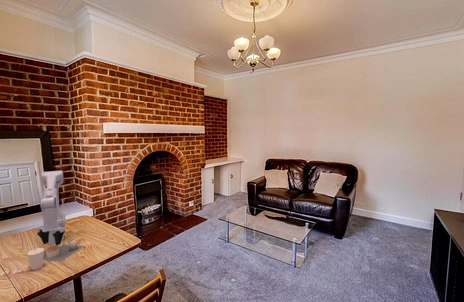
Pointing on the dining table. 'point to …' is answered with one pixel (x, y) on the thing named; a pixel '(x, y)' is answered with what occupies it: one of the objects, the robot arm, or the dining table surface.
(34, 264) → the smoothie
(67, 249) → the knob mounting plate
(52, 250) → the cap
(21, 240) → the dining table surface
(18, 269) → the dining table surface
